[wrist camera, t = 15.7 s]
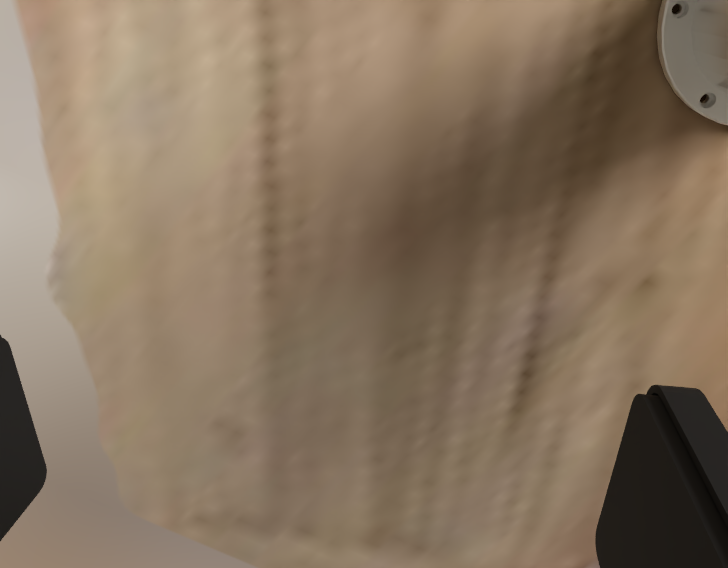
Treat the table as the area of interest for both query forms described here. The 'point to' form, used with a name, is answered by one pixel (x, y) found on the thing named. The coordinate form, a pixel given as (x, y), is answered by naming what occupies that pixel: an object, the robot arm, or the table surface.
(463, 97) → the table surface
